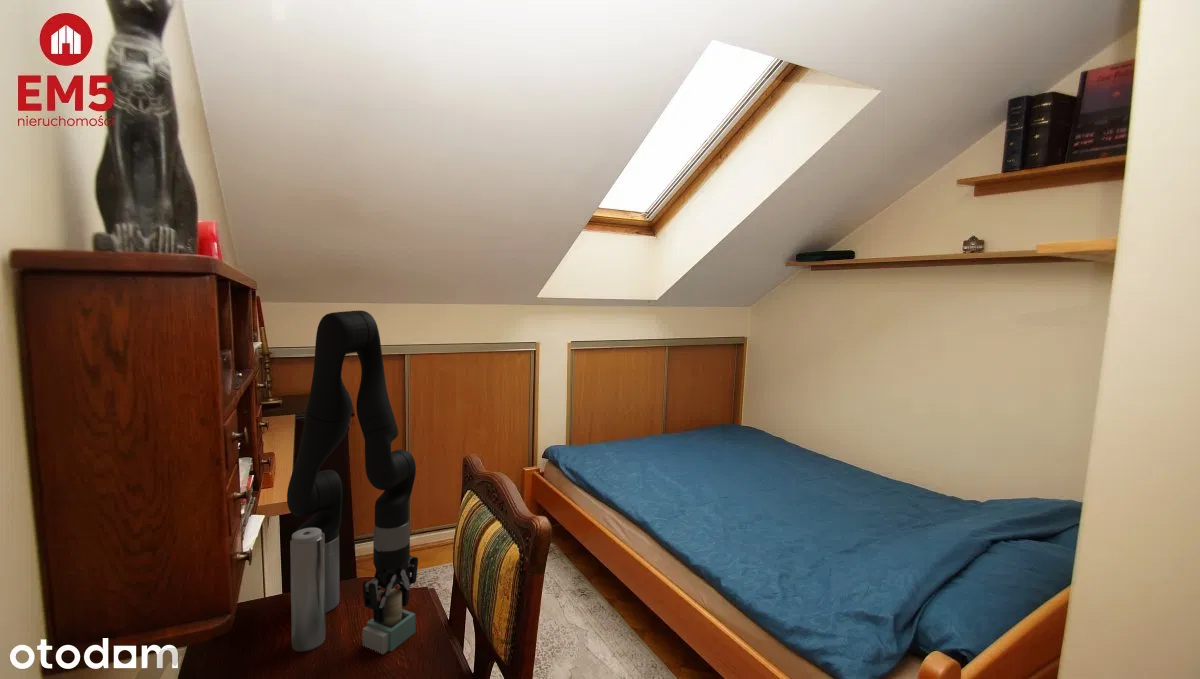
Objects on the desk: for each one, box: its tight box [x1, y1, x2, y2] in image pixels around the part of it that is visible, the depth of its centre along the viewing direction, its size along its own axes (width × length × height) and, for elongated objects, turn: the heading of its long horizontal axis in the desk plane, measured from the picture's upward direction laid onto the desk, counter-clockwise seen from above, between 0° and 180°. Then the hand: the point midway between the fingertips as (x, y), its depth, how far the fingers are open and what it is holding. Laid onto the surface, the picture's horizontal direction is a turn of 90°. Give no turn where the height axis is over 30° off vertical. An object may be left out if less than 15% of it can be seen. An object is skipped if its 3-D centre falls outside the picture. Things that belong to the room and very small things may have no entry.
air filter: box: [289, 528, 326, 653], centre depth 113 cm, size 6×6×25 cm
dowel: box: [383, 588, 403, 628], centre depth 116 cm, size 4×4×9 cm
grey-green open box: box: [366, 608, 416, 652], centre depth 116 cm, size 7×7×4 cm
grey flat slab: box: [362, 624, 389, 655], centre depth 112 cm, size 6×1×4 cm, turn 66°
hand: (391, 613), depth 116 cm, fingers open, 6 cm apart
